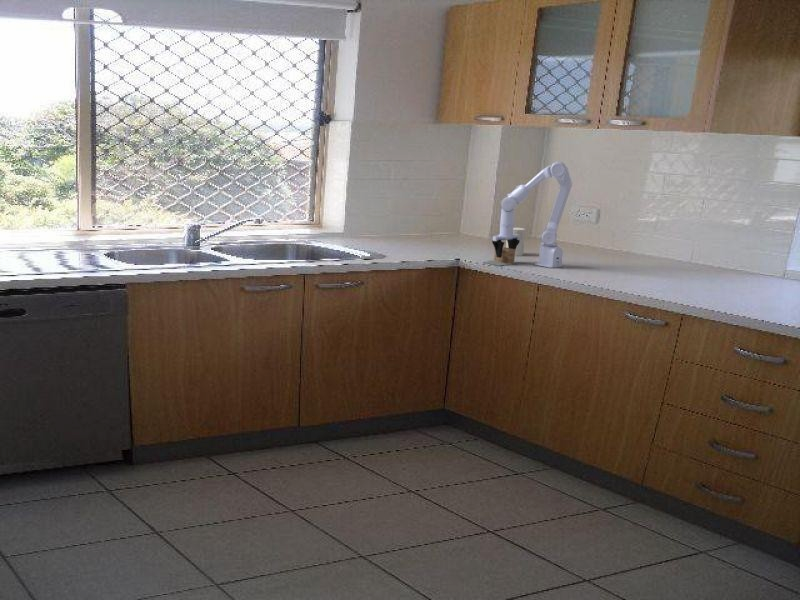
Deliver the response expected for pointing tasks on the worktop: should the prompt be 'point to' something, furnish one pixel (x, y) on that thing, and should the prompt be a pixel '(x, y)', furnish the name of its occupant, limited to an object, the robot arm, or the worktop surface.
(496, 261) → the mat
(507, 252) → the slab
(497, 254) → the robot arm
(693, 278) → the worktop surface
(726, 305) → the worktop surface
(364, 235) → the worktop surface
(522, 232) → the cup
